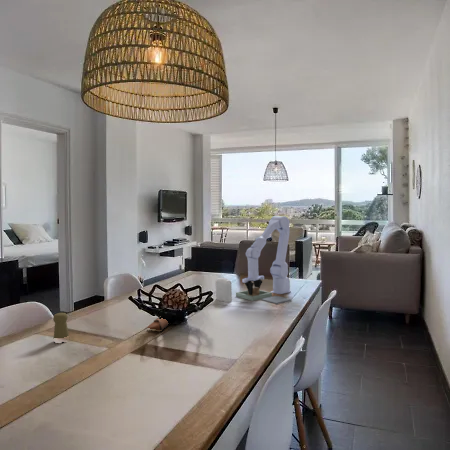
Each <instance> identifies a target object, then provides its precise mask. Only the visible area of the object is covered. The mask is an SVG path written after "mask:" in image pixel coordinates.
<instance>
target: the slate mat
mask: <svg viewBox="0 0 450 450" xmlns="http://www.w3.org/2000/svg"><path fill="white" fill-rule="evenodd" d="M261 301H262V302H263V301H264V302H268V303H271V304H274V305H280V304H284V303H285V304H286V303H289V302H292V298H287V297H283V296H279V295H272V297H268V298H263V299H261Z"/></svg>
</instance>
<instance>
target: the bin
mask: <svg viewBox="0 0 450 450" xmlns="http://www.w3.org/2000/svg"><path fill="white" fill-rule="evenodd" d="M272 296H273V293H272V292H269V291H266V290H261V289H259V295H256V296H250V295H248V289H246V290H242V291H236V292H235V297H237V298H241V299H243V300H248V301H252V302H254V301H258V300H262V299H264V298H268V297H272Z"/></svg>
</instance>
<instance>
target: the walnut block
mask: <svg viewBox="0 0 450 450" xmlns="http://www.w3.org/2000/svg"><path fill="white" fill-rule="evenodd" d="M259 290H260V289H259V287H255V286H254V285H253V293H252V295H250V294H249V292H248V295H250V296H256V295H259Z"/></svg>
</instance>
